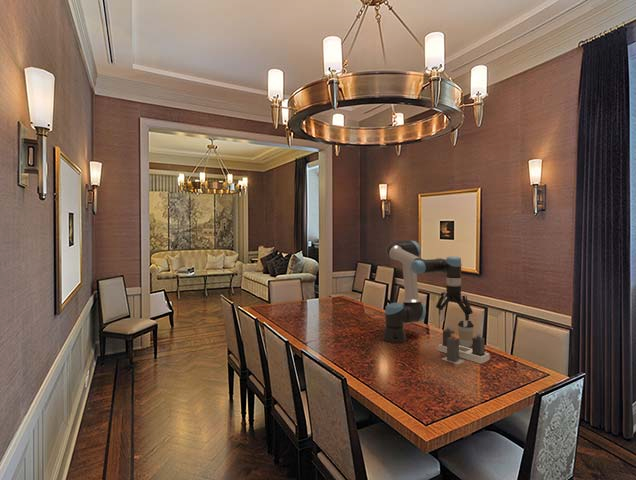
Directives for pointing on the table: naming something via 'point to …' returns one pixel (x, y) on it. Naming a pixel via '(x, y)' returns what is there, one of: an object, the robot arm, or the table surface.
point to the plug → (452, 348)
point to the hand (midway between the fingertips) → (453, 323)
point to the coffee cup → (465, 333)
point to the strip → (474, 354)
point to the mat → (454, 362)
